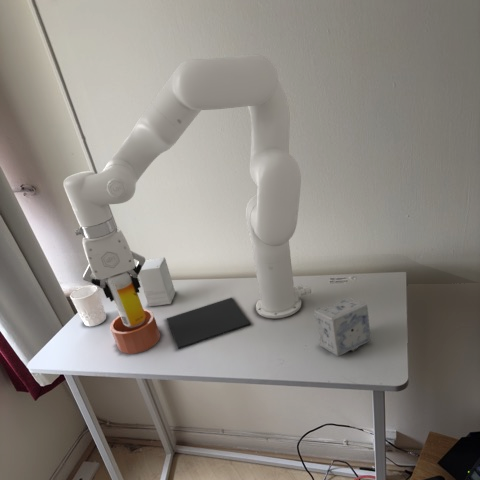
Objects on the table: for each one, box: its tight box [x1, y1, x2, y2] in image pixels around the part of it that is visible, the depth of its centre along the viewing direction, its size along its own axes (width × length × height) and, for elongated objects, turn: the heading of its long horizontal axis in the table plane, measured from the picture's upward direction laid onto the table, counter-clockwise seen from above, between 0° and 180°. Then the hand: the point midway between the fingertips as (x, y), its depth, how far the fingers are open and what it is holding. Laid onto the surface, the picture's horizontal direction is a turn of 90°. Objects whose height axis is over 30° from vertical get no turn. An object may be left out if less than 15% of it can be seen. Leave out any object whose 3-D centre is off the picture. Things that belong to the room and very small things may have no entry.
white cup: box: [69, 284, 107, 327], centre depth 125 cm, size 8×8×10 cm
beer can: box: [106, 271, 146, 328], centre depth 107 cm, size 6×6×15 cm
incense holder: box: [314, 296, 372, 357], centre depth 96 cm, size 10×8×10 cm
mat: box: [166, 297, 251, 350], centre depth 116 cm, size 20×16×1 cm
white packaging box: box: [138, 256, 176, 307], centre depth 129 cm, size 7×7×13 cm
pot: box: [109, 308, 161, 355], centre depth 113 cm, size 12×12×6 cm
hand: (124, 294), depth 107 cm, fingers closed on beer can, 6 cm apart
